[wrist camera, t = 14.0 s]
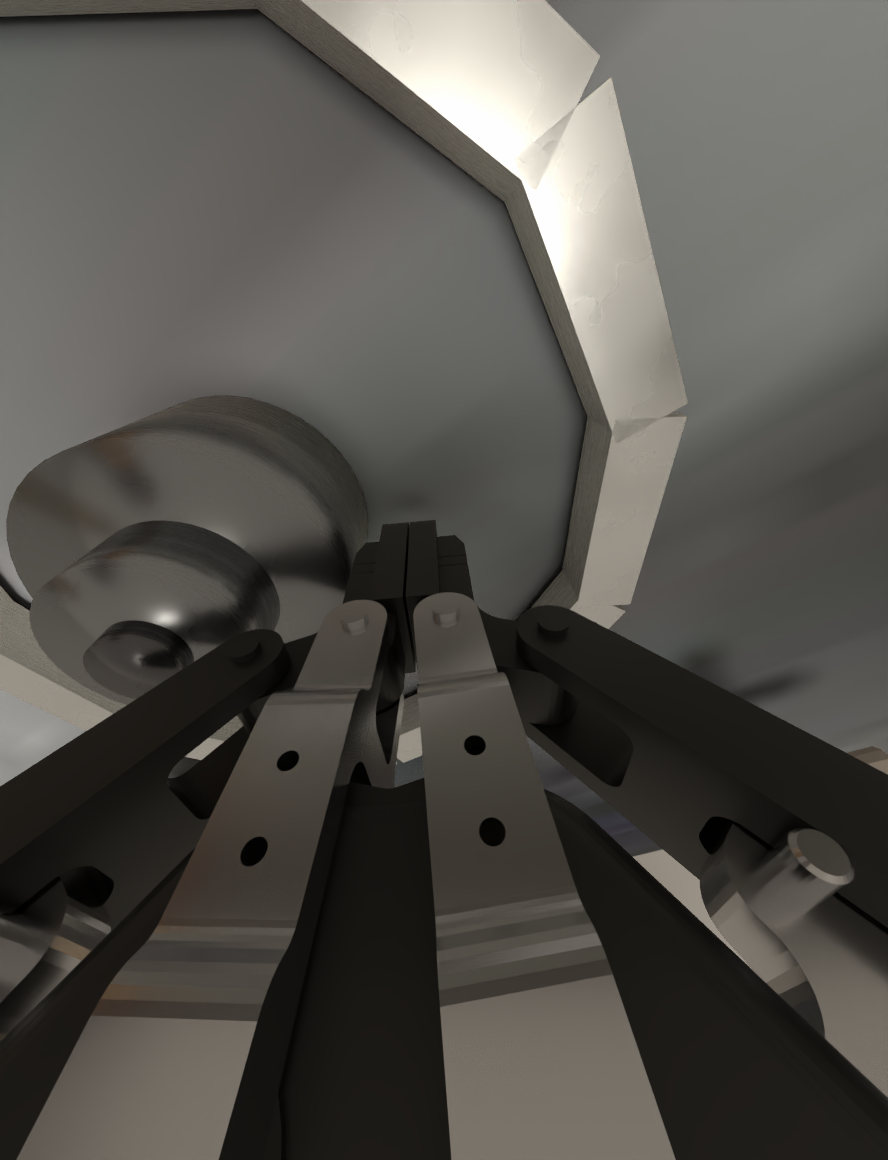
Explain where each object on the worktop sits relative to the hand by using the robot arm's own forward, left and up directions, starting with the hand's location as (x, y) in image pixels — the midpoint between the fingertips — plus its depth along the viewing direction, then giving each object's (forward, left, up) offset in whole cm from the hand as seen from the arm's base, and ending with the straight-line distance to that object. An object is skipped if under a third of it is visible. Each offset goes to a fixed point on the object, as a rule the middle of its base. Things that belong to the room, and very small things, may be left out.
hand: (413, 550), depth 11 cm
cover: (+6, 0, -4) cm, 7 cm away
